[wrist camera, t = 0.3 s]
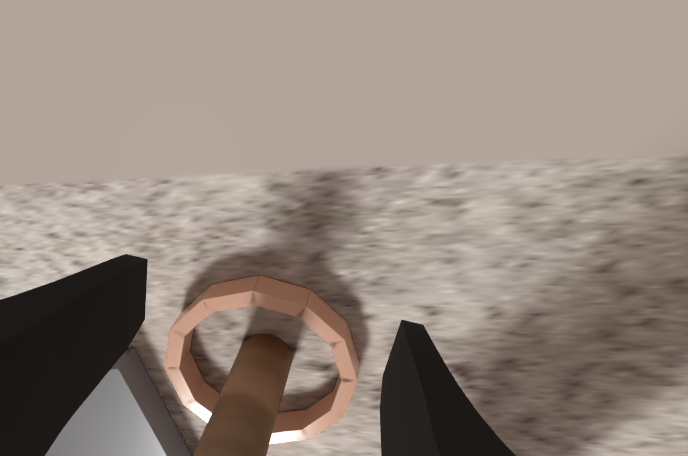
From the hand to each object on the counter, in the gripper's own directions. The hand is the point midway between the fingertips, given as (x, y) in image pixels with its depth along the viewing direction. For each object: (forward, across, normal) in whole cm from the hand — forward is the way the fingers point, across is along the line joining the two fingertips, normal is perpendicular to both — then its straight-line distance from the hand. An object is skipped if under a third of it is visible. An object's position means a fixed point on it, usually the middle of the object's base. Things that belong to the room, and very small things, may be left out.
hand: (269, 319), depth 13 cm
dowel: (+10, +1, +10) cm, 14 cm away
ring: (+10, +1, +10) cm, 14 cm away
